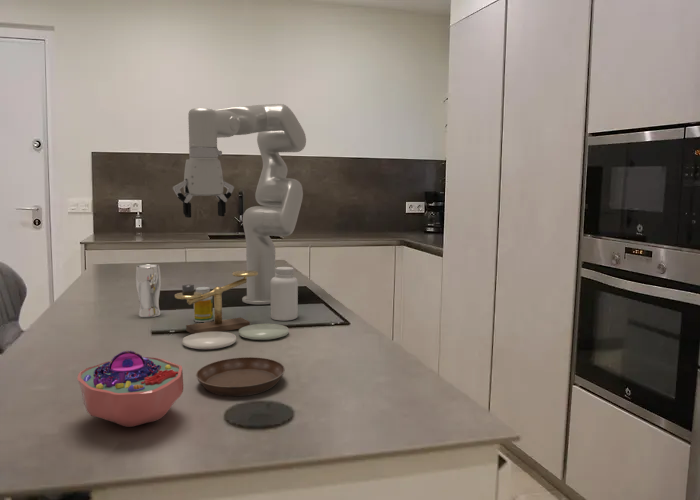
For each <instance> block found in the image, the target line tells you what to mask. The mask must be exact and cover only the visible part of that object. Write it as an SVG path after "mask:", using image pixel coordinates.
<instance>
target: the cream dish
mask: <svg viewBox="0 0 700 500" xmlns="http://www.w3.org/2000/svg"><path fill="white" fill-rule="evenodd" d="M236 342H237V336H236V334H234V333H231V332H226V331H221V332H201V333H195V334H191V333H190V334H189V335H187V336H184V338H182V345H183V346H185V347H186V348H190V349H196V350H203V351H204V350H207V351H208V350H209V351H210V350H218V349H222V348H225V347H229V346H231V345H234V344H235V343H236Z"/></svg>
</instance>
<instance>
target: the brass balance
mask: <svg viewBox="0 0 700 500" xmlns="http://www.w3.org/2000/svg"><path fill="white" fill-rule="evenodd" d="M231 275H232V276H233V277H236V278H237V277H239V278H241V277H243V278H241V279H238V280H236V281H234V282H231V283H228V284H226V285H223V286H215V287H214V288H213V290H210V292H207V293H205V294H202V293H199V292H196V291H195V285H194V284H191V283H190V284H182V286H181V290H182V291H181V292H177V293H175V294H174V298H175V299H177V300H186V303H187V304H188V305H189V306H191V305H194V303H196V302H199V301H201V300H204V299H206V298H209V297H211V296H212V297H213V303H214V304H213V308H214V309H213V315H214V321H213V320H212V321H210V322H205V323H199V322H197V323H191V324H186V325H185V330H186V332H188V333H190V335H191V334H195V333H201V332H226V331H233V330H239V329H240V328H242V327H245V326H248V325H251V322H250V321H249V320H247V319H246V318H242V317H235V318H228V319H223V301H222V300H223V299H222V294H223V292H226V291H229V290H231V289H234V288H236V287H240V286H242V285H244V284H247V277H250V276H256V275H258V272H257V271H247V270H236V271H233V272H232V274H231Z"/></svg>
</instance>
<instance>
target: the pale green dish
mask: <svg viewBox="0 0 700 500" xmlns="http://www.w3.org/2000/svg"><path fill="white" fill-rule="evenodd" d="M289 332H290V330H289V327H287V326H286V325H282V324H277V323H257V324H250V325H248V326H245V327H242V328H240V329H238V336H240V337H242V338H245V339H249V340H253V341H254V340H255V341H270V340H276V339H279V338H283V337H285V336H287V335H288V334H289Z"/></svg>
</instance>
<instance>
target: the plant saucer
mask: <svg viewBox="0 0 700 500" xmlns="http://www.w3.org/2000/svg"><path fill="white" fill-rule="evenodd" d="M285 369H286V368H285V366H284V365H283V364H282V362H280V361H277V360H274V359H269V358H264V357H256V356H255V357H253V356H250V357H247V356H245V357H233V358H226V359H222V360H217V361H214V362H210V363H209V364H206V365H204V366H202V367H201V368H199V369H198V370H197V371H196V374H195V377H196V379H197V381H198V382H199V383H200V384H201V385H202V387H203V388H205V390H207V392H210V393H213V394H215V395H219V396H225V397H244V396H251V395H252V396H253V395H257V394H260V393H263V392H266V391H268V390H270V389H272V388H273V387H275V386H276V384H278V382H280V379H281V378H282V377H283V375H284V373H285Z"/></svg>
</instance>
